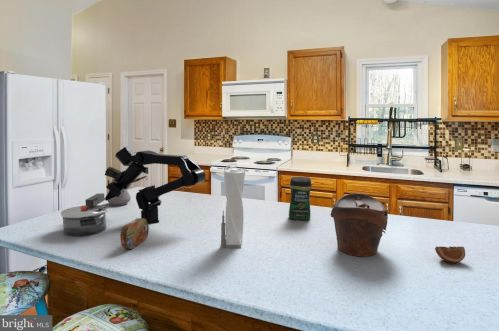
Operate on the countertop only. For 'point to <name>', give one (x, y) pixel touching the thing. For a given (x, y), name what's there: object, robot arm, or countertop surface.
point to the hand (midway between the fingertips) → (105, 199)
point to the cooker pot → (84, 226)
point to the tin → (134, 233)
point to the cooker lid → (86, 208)
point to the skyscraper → (233, 209)
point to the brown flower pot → (359, 224)
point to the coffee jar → (300, 198)
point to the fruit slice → (451, 253)
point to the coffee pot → (122, 196)
